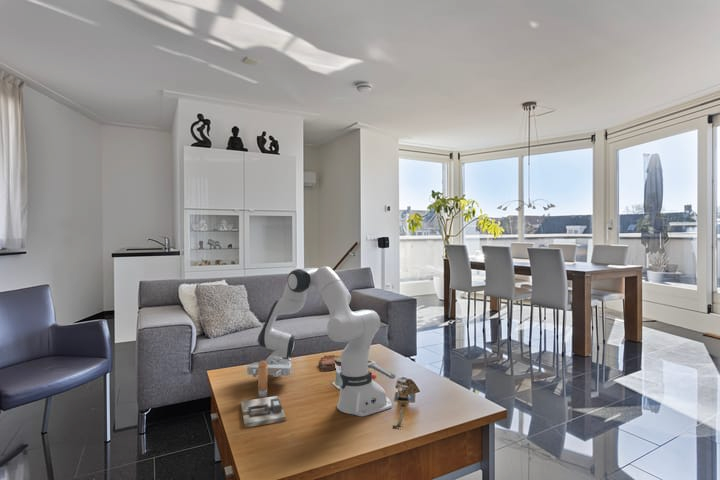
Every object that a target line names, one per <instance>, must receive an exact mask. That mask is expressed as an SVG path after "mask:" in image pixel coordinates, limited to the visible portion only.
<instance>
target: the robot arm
mask: <svg viewBox="0 0 720 480" xmlns="http://www.w3.org/2000/svg"><path fill="white" fill-rule="evenodd" d="M314 292H319V293H318V294H320V297H321V298H322V300H323V302H324V304H325V305H326V307H327V309H328V311H329V312H328V313H329V320H328V322H327V325H326V333H327V335H328V338H330V340H332V342H334V343H347V344H346V346H345V347H344V348H343V350H342V351H341V354H340V357H341V369H340V373H339V386H340V387H339V388H340V389H339V397H338V402H337V405H336V407H337V409H338V410H339V411H340V412H342V413H345V414H348V415H354V416H357V417H366V416H369V415H371V414H376V413H379V412H383V411H385V410H386V411H387V410H389V409H391V408H392V407H393V403H392V401H391V400H390V398H389V397H388V396H387V393H386V391H385V389H384V387H382V385H380V384H379V383H377V381H374V380H377V375H376V374H375V373H374V372H373V373H372V372H371V371H370V370H369V367H368V360H369V353H370V348H371V345H372V342H373V340H374V336H375V335H376V333H377V332H378V331H379V329H380V328H381V317H380V316H379V314H378V312H377V311H375V310H373V309H360V310H356V311H352V309H351V308H350V303H351V301H352V294H351V293H350V291H349V289H348V288H347V287H346V285H345V283H344V282H343V280H342V279H341V278H340V276H339V275H338V274H337V273H336V271H334V270H333V268H331V267H330V266H327V265H326V266H324V265H323V266H321V267H306V268H305V267H304V268H297V269H294V270H291V271H290V272H289V274H288V276H287V281H286V284H285V286H284V289H283V294H282V296H281V298H280V299H277V300H275V301H274V303H273V305H272V306H271V308H270V310H269V313H268V314H267V317H266V319H265V321H264V324H263V327H262V328H261V330H260V331H259V333H258V336H257V343H258V345H259V346H260V348H264V349H269V350H273V351H272V353H271V354H270V355H269V356H268V357H267V358H266V359H265V360H264V361H266V362H267V376H273V378H277V377H280V376H286V377H287V376H288V377H289V376H291V374H292V368H293V365H292V361H293V360H292V358H291V356H292V355H293V353H294V351H295V349H296V343H297V342H296V338H295V336H294V335H293V334H292V333H291V334H290V333H288V332H285V331H281V330H278V329H276V328H274V324H275V322H276V320H277V318H278V316H282V315H292V314H297V313H298V312H300V311H302V309H303V308H304V306H305V303H306V300H307V297H308V293H314ZM259 362H260V361H256V362H252V363H250V364H249V365H247V367H246V373H247V375H252V377H254V378H255V377H258V364H259Z"/></svg>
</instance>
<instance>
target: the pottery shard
mask: <svg viewBox="0 0 720 480" xmlns="http://www.w3.org/2000/svg"><path fill="white" fill-rule="evenodd" d="M335 357H340V356H339V355H333V354H332V355H331V354H329V355H324V356H322V357H321V358H320V359H319V360H318V367H319V368H320V372H330V371H334V370H336V369H335V363H334V358H335Z"/></svg>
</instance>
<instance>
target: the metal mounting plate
mask: <svg viewBox="0 0 720 480" xmlns="http://www.w3.org/2000/svg"><path fill="white" fill-rule="evenodd" d="M277 398H279V396H278V395H275V396H274V395H273V396H268V397H267V396H266V397H259V398H254V399H247V400H241V401H240V406H241V413H242V420H243V426H244V428H245V429H246V428H251V427H257V426H263V425H268V424H275V423H280V422H286V421H287V420H286V419H287V418H286V417H287V416H286V414H285V412H284V408H283V406H282V405H281V412H276V413H273V411H272V408H271V399H277Z"/></svg>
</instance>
